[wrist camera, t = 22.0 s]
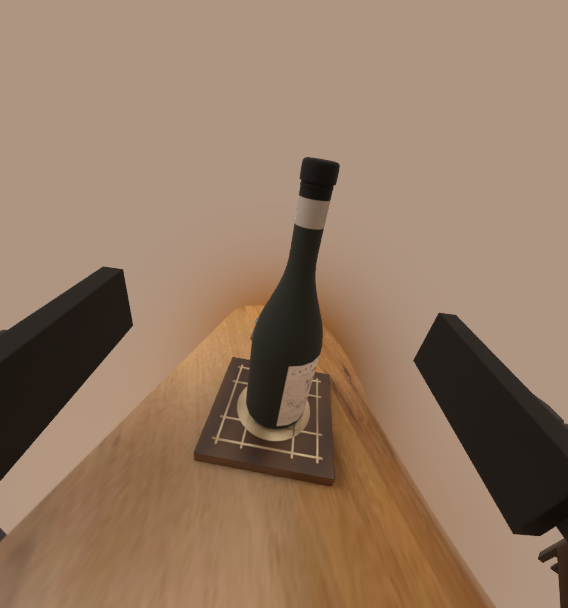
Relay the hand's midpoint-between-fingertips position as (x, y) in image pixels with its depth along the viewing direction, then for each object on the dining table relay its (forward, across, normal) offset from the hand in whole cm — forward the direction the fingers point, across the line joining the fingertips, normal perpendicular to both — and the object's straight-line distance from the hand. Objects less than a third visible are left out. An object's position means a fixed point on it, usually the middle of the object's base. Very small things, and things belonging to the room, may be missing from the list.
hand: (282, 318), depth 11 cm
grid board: (+14, +2, -26) cm, 30 cm away
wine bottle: (+14, +2, -24) cm, 29 cm away
